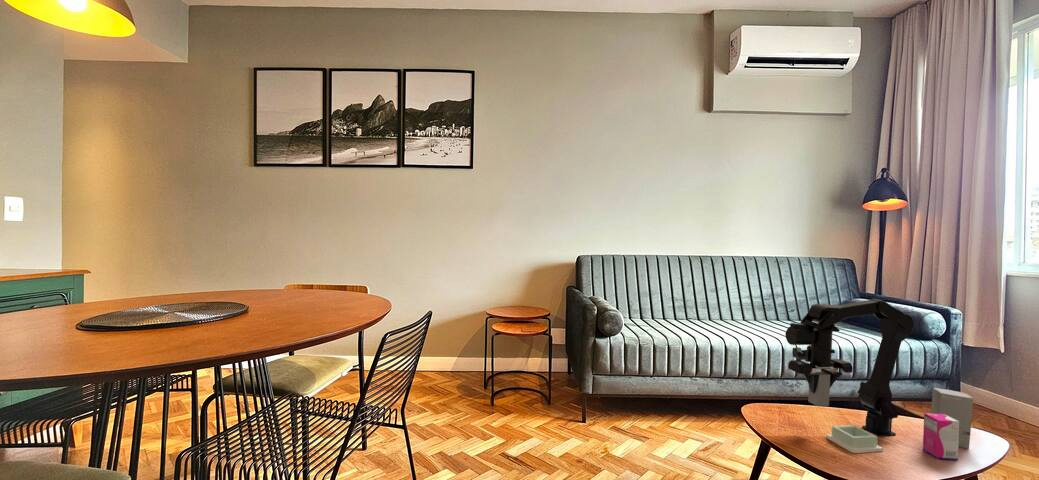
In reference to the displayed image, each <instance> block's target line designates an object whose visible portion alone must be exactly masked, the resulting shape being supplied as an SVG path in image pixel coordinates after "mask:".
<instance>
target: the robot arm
mask: <svg viewBox="0 0 1039 480" xmlns="http://www.w3.org/2000/svg"><path fill="white" fill-rule="evenodd" d="M868 315H873V316H874V317H875V318H877V319H878V320H879V330H880V332H881V333H880V334H881V340H880V344H879V347H878V351H877V355H876V358H875V361H874V365H873V369H872V372H871V375H870V378H869V379H868V380H867V381H866V382H864V381H861V382H860V383H859V389H858V390H857V392H856V393H857V394H858V395H857V396H858V399H859V400H860V403H861V407H862V408H863V409H866V410H867V411H866V416H865V425H862V426H861V429H863V430H865V431H867V432H869V433H871V434H873V435H875V436H877V437H884V436H885V437H886V436H897V435H896V432H894V431H892V427H893V426H892V425H893V423H892V422H893V420H894V419H898V416H899V415H900V411H899V410H898V409H897V408H896V407H895V405H894V404H893V403H892V400H893V393H892V390H891V388H890V382H891V379H892V375H893V372H894V370H895V365H896V362H897V359H898V355H899V353H900V349H901V348H900V347H901V344H902V343H903V341H905V339H907V338H908V337H910V335H911V332H912V331H913V328H914V326H915V320H914V319H913V318H912V316H911V315H909V314H906V313H904V312H903V311H900V310H899V309H897V308H895V307H894V306H892V305H890V303H888V302H887V301H885V300H883V299H882V300H881V299H878V298H870V299H867V300H860V301H855V302H849V303H843V304H826V303H824V304H821V303H815V304H812V305H811V307H810V308H809V310H808V312H807V313H806V314H805V315H804V317H803V318H802V319H801V321H800V323H795V322H790V324H789V325H790V326H789V327H787V329H786V331H785V340H786V342H787V343H788V344H789V345H791V346H805V345H806V349H802V348H801V347H793V348H792V350H791V351H792V357H793V359H794V358H797V359H796V360H795V359H794V360H793V359H792V360H789V361H788V364H787V369H788V370H790V371H793V372H795V373H797V374H800V375H804V377H805V379H806V381H807V384H808V388H809V387H810V390H811V392H812V393H815V391H816V388H817V384H818V379H819V374H817V373H816V371H817V370H820V371H823V372H825V373H827V374H830V389H831V387H832V386H833V385H834V384H835V382H836V380H837V379H838V378H839V377H840V376H843V373H846V374H847V373H853V368H854V367H853V365H852V363H851V362H848V361H846V360H843V359H840V358H832V355H833V354H835V351H836V350H835V349H834V348H833V332H834V333H835V332H839V333H840V329H839V328H838V327H837V326H836V324H838V323H840V322H841V321H843V320H844V319H848V318H849V319H850V318H855V317H862V316H868ZM839 369H840V370H841V371H842V372H843V373H842V372H839V371H840V370H839Z"/></svg>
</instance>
